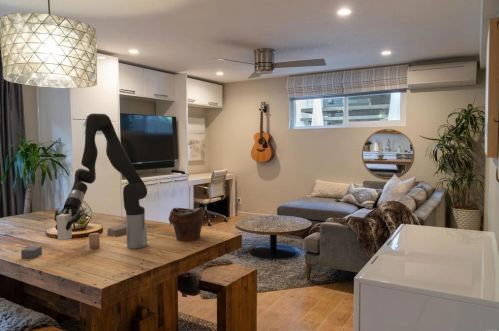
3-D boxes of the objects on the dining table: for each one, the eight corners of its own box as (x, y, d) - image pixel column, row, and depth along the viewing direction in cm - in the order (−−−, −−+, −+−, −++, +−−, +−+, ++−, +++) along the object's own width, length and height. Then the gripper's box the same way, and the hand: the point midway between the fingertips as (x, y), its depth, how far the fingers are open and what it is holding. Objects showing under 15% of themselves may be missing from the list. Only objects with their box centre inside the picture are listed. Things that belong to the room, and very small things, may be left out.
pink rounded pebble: (101, 246, 185) (101, 232, 185) (96, 249, 180) (96, 235, 180) (92, 245, 185) (91, 232, 185) (87, 248, 180) (86, 235, 180)
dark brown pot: (165, 236, 202) (165, 205, 200) (198, 232, 211) (198, 202, 210) (174, 245, 186) (173, 211, 185) (209, 240, 195) (209, 208, 194)
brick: (115, 237, 202) (115, 229, 202) (106, 235, 207) (106, 227, 207) (138, 230, 216) (138, 223, 216) (129, 229, 221) (129, 221, 220)
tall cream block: (72, 237, 177) (70, 214, 176) (66, 240, 173) (65, 216, 172) (63, 237, 178) (61, 214, 177) (57, 240, 173) (56, 216, 172)
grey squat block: (42, 254, 173) (41, 246, 172) (33, 258, 167) (33, 250, 166) (30, 254, 173) (29, 246, 173) (21, 258, 167) (21, 250, 167)
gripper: (58, 196, 182) (44, 225, 171) (84, 196, 181) (72, 225, 169) (64, 204, 187) (51, 233, 176) (90, 204, 186) (79, 233, 175)
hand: (62, 229), depth 173 cm, fingers closed on tall cream block, 4 cm apart
